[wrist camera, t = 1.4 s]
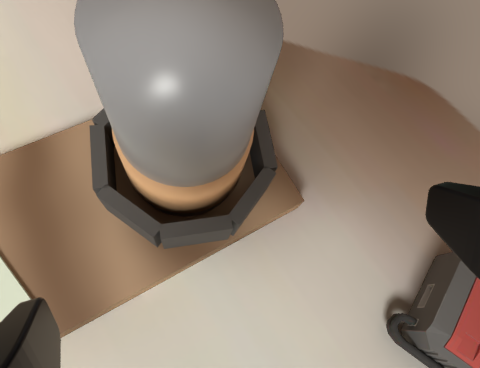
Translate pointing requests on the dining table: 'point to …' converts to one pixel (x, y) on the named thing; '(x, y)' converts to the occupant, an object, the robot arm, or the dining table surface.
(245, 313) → the dining table surface
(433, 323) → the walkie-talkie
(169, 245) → the grey octagonal ring
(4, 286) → the sage pad
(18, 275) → the walnut board
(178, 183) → the two-tone cylinder
